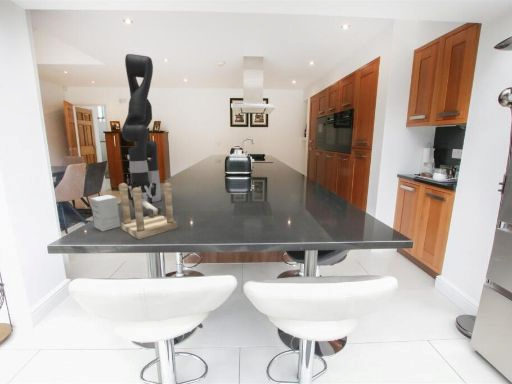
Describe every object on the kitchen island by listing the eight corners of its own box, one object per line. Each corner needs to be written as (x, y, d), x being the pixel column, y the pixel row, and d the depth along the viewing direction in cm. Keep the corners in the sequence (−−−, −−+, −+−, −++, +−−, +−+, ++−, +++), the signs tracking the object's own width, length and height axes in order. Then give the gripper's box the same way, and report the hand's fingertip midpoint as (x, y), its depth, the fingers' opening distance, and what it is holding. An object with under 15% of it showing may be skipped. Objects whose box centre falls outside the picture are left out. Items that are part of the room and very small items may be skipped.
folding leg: (151, 215, 114) (137, 204, 123) (159, 214, 117) (144, 203, 126) (151, 208, 113) (136, 197, 122) (159, 207, 116) (144, 196, 124)
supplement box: (113, 222, 114) (109, 194, 112) (120, 226, 110) (117, 196, 107) (94, 227, 109) (89, 197, 106) (101, 231, 104) (97, 200, 101)
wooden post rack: (121, 228, 107) (115, 183, 103) (159, 218, 119) (156, 177, 115) (138, 239, 97) (133, 189, 93) (179, 227, 109) (176, 182, 105)
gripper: (150, 168, 127) (153, 202, 131) (119, 171, 117) (123, 208, 121) (158, 169, 122) (161, 205, 126) (126, 173, 112) (130, 211, 116)
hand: (142, 206), depth 123 cm, fingers open, 6 cm apart
